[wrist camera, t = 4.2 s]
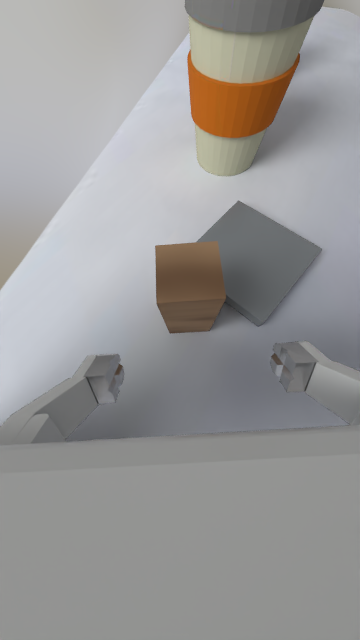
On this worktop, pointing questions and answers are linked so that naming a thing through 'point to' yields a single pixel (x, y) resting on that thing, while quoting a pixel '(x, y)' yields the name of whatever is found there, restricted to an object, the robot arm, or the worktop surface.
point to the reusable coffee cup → (241, 73)
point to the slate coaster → (258, 260)
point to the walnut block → (189, 285)
